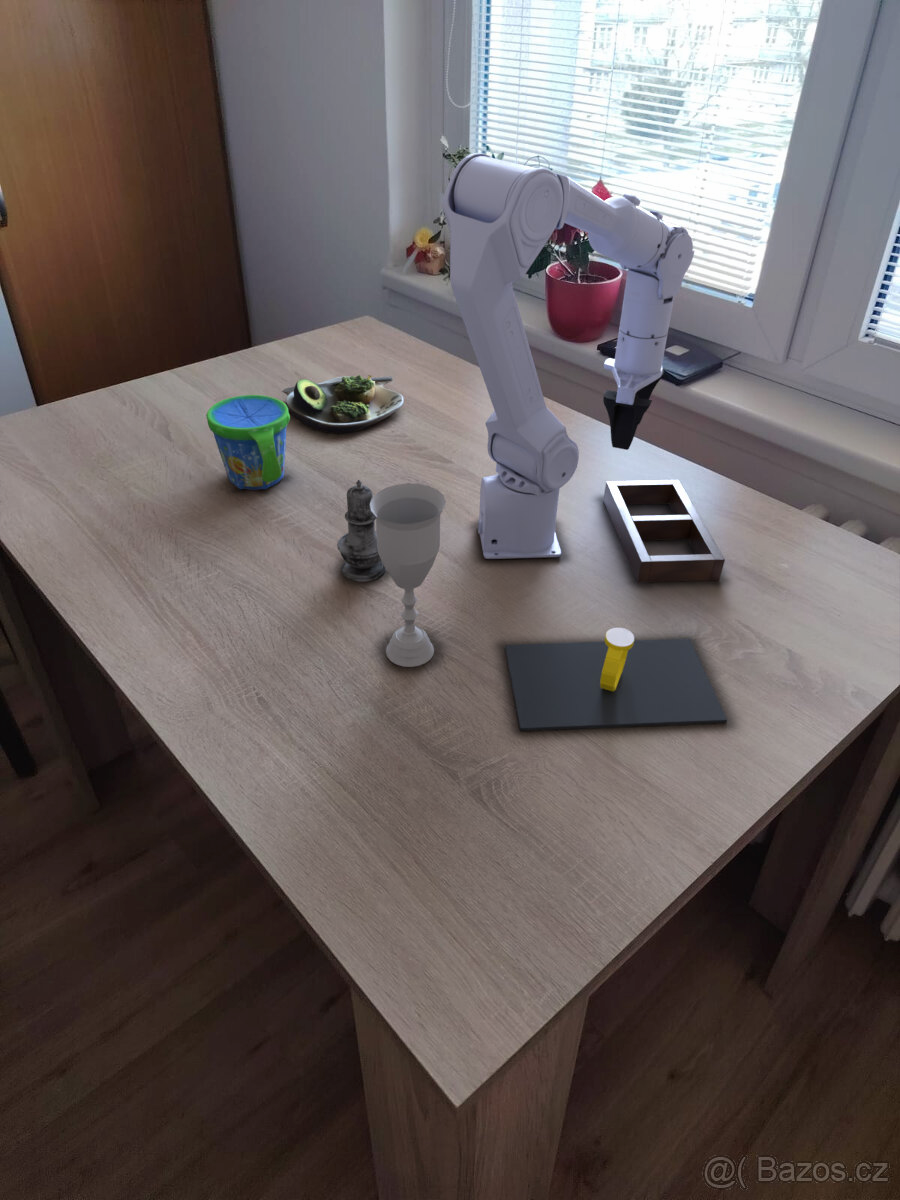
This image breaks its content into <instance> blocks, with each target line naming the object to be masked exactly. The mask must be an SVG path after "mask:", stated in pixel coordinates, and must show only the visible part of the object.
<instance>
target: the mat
mask: <svg viewBox="0 0 900 1200" xmlns="http://www.w3.org/2000/svg"><path fill="white" fill-rule="evenodd" d="M608 648H609V647H608V646H607V645H606V644H605V641H581V642H580V641H579V642H578V641H577V642H576V641H575V642H553V643H552V642H547V643H521V644H519V643H518V644H517V643H516V644H515V643H514V644H504V651H505V657H506V662H507V663H506V664H507V668H508V673H509V679H510V683H511V689H512V693H513V700H514V705H515V710H516V715H517V721H518V727H519V731H520V732H529V731H531V732H532V731H551V730H552V731H553V730H554V731H555V730H577V729H578V730H581V729H599V728H601V729H604V728H606V729H607V728H626V727H627V728H629V727H630V728H631V727H651V726H652V727H653V726H676V725H702V724H704V725H705V724H723V723H725V724H726V723H727V722H728V718H727V716H726V713H725V712H724V710H723V707H722V705H721V703H720V701H719V698H718V696H717V694H716V691H715V690H714V688H713V686H712V683H711V682H710V679H709V677H708V675H707V672H706V671H705V669H704V667H703V664H702V662H701V660H700V657H699V655H698V653H697V650H696V649H695V647H694V644H693V642H692V640H691V638H672V639H671V638H670V639H669V638H667V639H641V640H640V639H639V640H635V639H634V644H633V646H632V648H631V649H629V650H628V653H627V657H626V661H625V664H624V668H623V672H622V674H621V676H620V679H619V682H618V684H617V687H616V690H615V691H610V690H606V689H603V688H601V687H600V680H601V674H602V670H603V666H604V662H605V658H606V654H607V651H608Z"/></svg>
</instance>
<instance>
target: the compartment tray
mask: <svg viewBox="0 0 900 1200" xmlns="http://www.w3.org/2000/svg"><path fill="white" fill-rule="evenodd" d="M602 501H603V503H604V506H605V508H606V511H607V513H608V515H609V518H610V520H611V522H612V525H613V527H614V529H615V532H616V534H617V535H616V536H617V537H618V539H619V542H620V543H621V546H622V549H623V551H624V553H625V556H626V558H627V561H628V563H629V565H630V568H631V571H632V573H633V575H634V577H635V580H636V582H637V583H664V582H665V583H668V582H700V581H701V582H703V581H720V579H721V577H722V576H721V575H722V572H723V569H724V565H725V561H726V559H725V557H724V555H723V554H722V552H721V550H720V548H719V546H718V545H717V543H716V541H715V540H714V537H713V536H712V535H711V533H710V531H709V530H708V528H707V526H706V524H705V523H704V520H703V519H702V517H701V516H700V514H699V512H698V510H697V509H696V507H695V505H694V503H693V501H692V500H691V498H690V497H689V495H688V494H687V492H686V489H685V488H684V486H683V485H682V483H681V481H680V479H659V480H658V479H656V480H655V479H654V480H653V479H652V480H606V481H605V487H604V493H603V500H602ZM627 505H669V507H670V509H671V511H672V513H673V514H663V515H661V514H659V515H655V514H654V515H631V513H630V511H629V509H628V507H627ZM678 540H679V541H680V540H681V541H683V540H688V542H689V544H690V546H691V548H692V550H693V552H694V554H664V555H663V554H662V555H649V553H648V551H647V549H646V547H645V543H644V542H643V541H678Z"/></svg>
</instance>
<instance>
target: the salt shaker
mask: <svg viewBox="0 0 900 1200" xmlns="http://www.w3.org/2000/svg"><path fill="white" fill-rule="evenodd" d="M373 497H374V495H373V492H372V489H371V488H370V487H368V486H367V485H363V483H362V481H361V480H360V479H358V480H357V481H356V482H355V485H353V486H351V487H349V488H348V489H347V492H346V505H347V511H346V512H345V513H344V519H345V521H346V522H347V533H345V534H343V535H342V536H341V537H340V538H339V539H338V540H337V543H336V546H337V550H338V552H339V553H340V555H341V557H342V559H343V561H344V562H343V564H342V565H341V574H342V576H344V577H345V578H346V579H348V580H350V581H353V582H360V583H366V582H372V581H375V580H377V579H380V578H381V577H383V575H384V574H386V572H387V570H386V569H385V567H384V565H383V563H382V560H381V558H380V556H379V554H378V549H377V532H376V527H375V526H376V517H375V516H374V514H373V513H372V511H371V508H370V502H371V500H372V498H373Z"/></svg>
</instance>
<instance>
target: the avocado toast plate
mask: <svg viewBox="0 0 900 1200" xmlns="http://www.w3.org/2000/svg"><path fill="white" fill-rule="evenodd" d="M392 381H393V377H392V376H380V377H379V376H378V377H372V375H370V374H369V375H367V378H365V377H362V376H361V374H358V375H357V376H354V375H351V376H337V377H333V378H330V379H327V380H325V381H322V382H319V383H315V382H314V381H312V380H309V379H306V378H301V379H298V380H297V381H296V383H295V385H294V386H291V387H287V388H284V389H283V390H282V391H281V393H284V394H285V395H286V399H285V404H286V406H287V407H288V411H289V412H290V413H291V414H292V415H293V416H294V418H295V419H297V420H299V421H300V422H302V423H303V424H305V425H307V426H309V427H310V428H312V429H314V430H317V431H321V432H325V433H331V434H348V433H349V434H350V433H353V432H356V431H360V430H363V429H365V428H367V427H370V426H373V425H375V424H377V423H379V422H380V421H382V420H384V419H386V418H387V417H389V416H391V415H392V414H394V413H396V412H397V411H399V410H400V409H401V408H402V407H403V406H404V404H405V397H404V396H403V395H402V394H401V393H399V392H396V391H395V390H391V389H389V388H386V387H385V385H387V384H389V383H391V382H392Z"/></svg>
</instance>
